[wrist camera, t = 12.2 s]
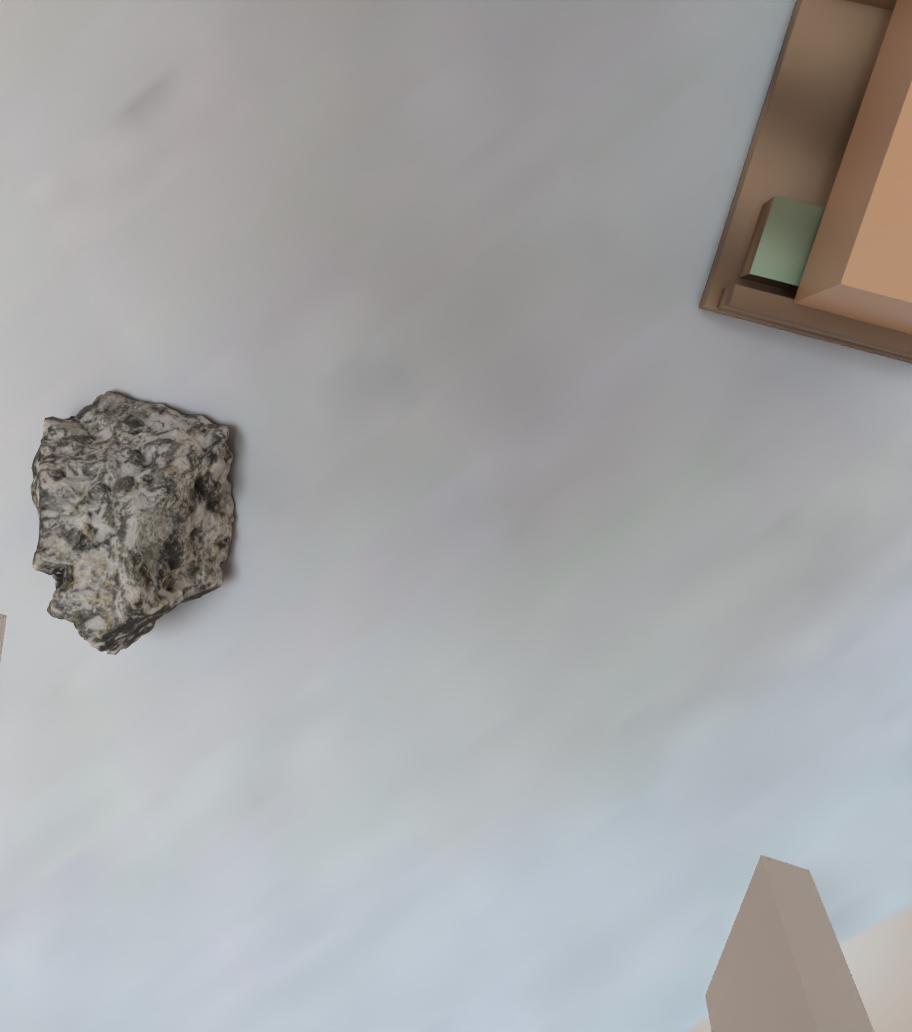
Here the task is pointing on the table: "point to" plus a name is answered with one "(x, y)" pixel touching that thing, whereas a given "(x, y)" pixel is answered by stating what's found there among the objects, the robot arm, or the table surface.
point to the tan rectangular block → (871, 201)
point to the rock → (130, 515)
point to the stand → (801, 175)
